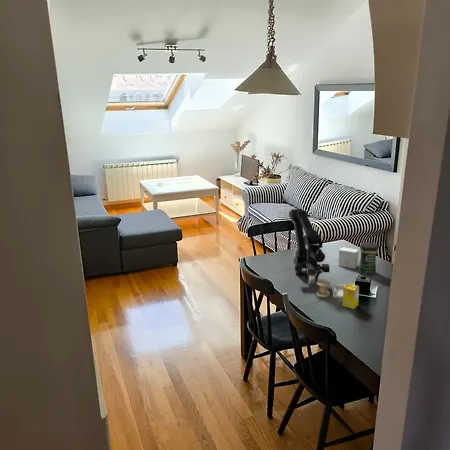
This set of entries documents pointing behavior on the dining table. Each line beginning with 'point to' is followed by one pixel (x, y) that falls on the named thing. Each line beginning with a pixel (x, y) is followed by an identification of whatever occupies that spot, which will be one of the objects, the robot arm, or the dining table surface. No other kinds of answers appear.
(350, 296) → the supplement box
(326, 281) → the spool
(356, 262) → the skincare box
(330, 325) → the dining table surface
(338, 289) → the white rectangular tray
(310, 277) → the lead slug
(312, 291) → the dining table surface
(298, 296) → the dining table surface
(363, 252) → the coffee jar
